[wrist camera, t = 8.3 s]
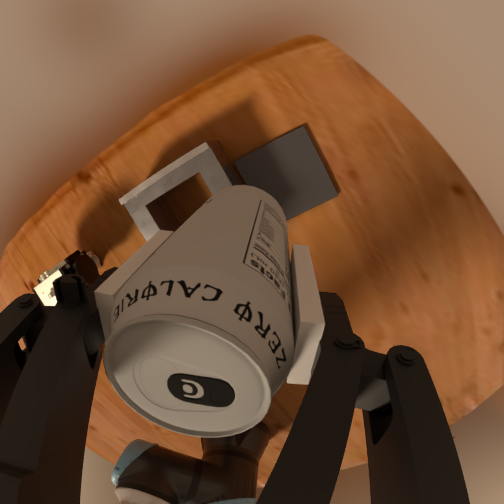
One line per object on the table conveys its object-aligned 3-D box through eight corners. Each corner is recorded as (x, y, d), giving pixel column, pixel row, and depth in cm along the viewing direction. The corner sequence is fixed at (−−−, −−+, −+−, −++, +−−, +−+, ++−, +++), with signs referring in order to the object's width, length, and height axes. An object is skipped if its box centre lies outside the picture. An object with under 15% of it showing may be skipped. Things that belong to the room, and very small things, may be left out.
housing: (187, 265, 44) (173, 286, 38) (140, 189, 40) (118, 199, 34) (265, 225, 41) (263, 242, 35) (217, 140, 37) (205, 141, 31)
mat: (270, 227, 41) (270, 228, 40) (234, 161, 38) (233, 162, 37) (337, 194, 38) (338, 195, 38) (303, 126, 35) (303, 125, 35)
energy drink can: (202, 180, 20) (63, 279, 6) (290, 186, 20) (315, 311, 6) (201, 260, 23) (112, 424, 9) (282, 267, 22) (279, 455, 8)
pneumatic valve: (121, 260, 45) (81, 297, 34) (78, 285, 48) (40, 321, 36) (103, 231, 43) (57, 261, 32) (62, 259, 46) (20, 291, 35)
